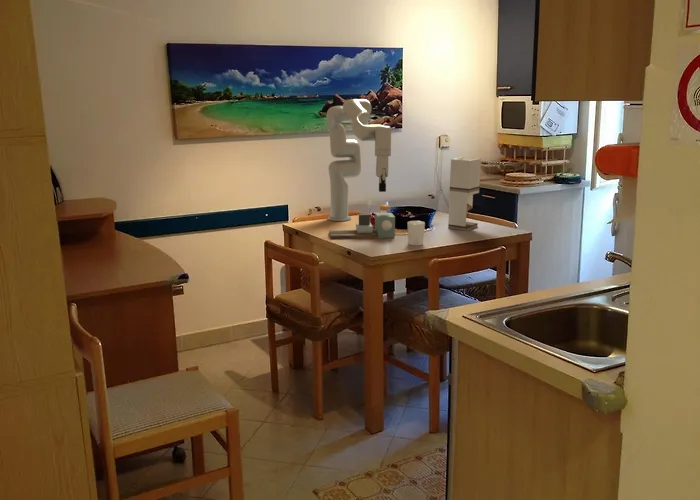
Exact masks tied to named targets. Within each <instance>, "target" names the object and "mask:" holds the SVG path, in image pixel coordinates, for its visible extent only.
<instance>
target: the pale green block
mask: <svg viewBox="0 0 700 500" xmlns="http://www.w3.org/2000/svg"><path fill="white" fill-rule="evenodd" d="M395 229H396V216H395V215H394V214H393V213H392V212H375V213H374V230H375V232H376V234H377V238H378V239H384V238H385V239H386V238H394V239H395V237H396V235H395V233H396V230H395Z"/></svg>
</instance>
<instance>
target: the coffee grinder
mask: <svg viewBox="0 0 700 500" xmlns="http://www.w3.org/2000/svg"><path fill="white" fill-rule="evenodd" d="M481 163H482V158H475V159H464V157H455V158H451V159H450V171H449V173H450V176H449V178H450V179H449V195H448V197H449V198H448V199H449V200H448V219H447V220H448V223H447V228H448V229H450V230H452V229H453V230H456V231H457V230H459V231H464V230H466V232H467V230H468V231H470V229H471V230H474V229H476V228H478V225H479V223H477V222H472V221H467V212H468V211H470V210H472V209H473V201H474V199H473V198H474V195H476V194H480V183H481ZM473 228H474V229H473Z"/></svg>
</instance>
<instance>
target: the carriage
mask: <svg viewBox="0 0 700 500" xmlns="http://www.w3.org/2000/svg"><path fill="white" fill-rule="evenodd" d="M373 227H374V226H373V224H372V223H371V215H370V213H358V222H355V230H357V233H372V231H373V230H374V229H373Z"/></svg>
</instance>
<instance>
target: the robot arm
mask: <svg viewBox="0 0 700 500" xmlns="http://www.w3.org/2000/svg"><path fill="white" fill-rule="evenodd" d="M371 113H372V104H371V102H370V101H369V100H368V99H365V98H353V99H352V98H351V99H348V100H346V101H344V102H343V104H342V105H334V106H330V107H329V108H328V110H327V112H326V122H327V123H326V124H327V127H328V131H329V145H330V146H329V147H330V154H331V156H332V158H336V159H337V160H333V161H332V162H330V163H329V165H328V175H329V180H330V215H328V216H327V219H328V221H334V222H335V221H336V222H345V221H346V222H347V221H350V220H352V217H351V216H350V215H349V185H348V182H347V181H346V180H345V179H350V178H357V177H359V176H360V175H361V172H362V165H361V146H360V143H359V142H358V140H359V141H361V142H374V156H375V157H376V159H375V160H376V163H375V175H376V177H378V180H379V181H378V192H381V193H382V192H383V193H385V192H387V183H386V182H387V178H388V177H389V157H391V156H392V128H391V126H390V125H383V124H368V122H369V121H370V114H371ZM342 123H351V130H352V132H353V134H354V136H355V137H356V138H357V139H358V140H356V139H355V138H354V139H353V138H352V139H351V138H347V132H346V131H347V130H346V128H345V127H344V125H343V124H342ZM339 158H341V159H342V158H344V159H342V160H338V159H339ZM345 158H348V159H345Z"/></svg>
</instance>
